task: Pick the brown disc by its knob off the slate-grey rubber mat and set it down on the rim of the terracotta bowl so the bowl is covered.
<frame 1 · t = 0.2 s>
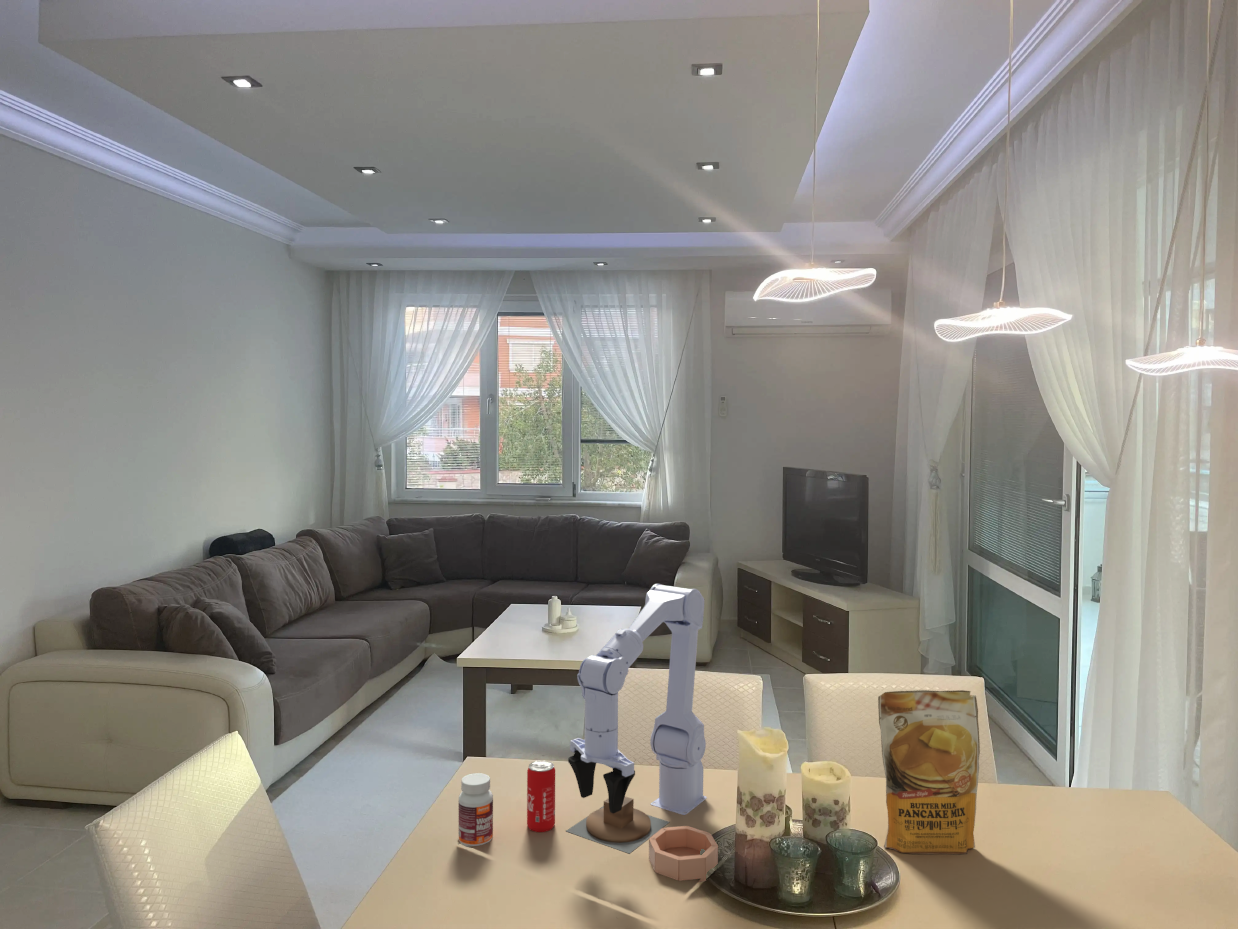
hand: (600, 803, 143), 10 cm above the table, tool pointing down, fingers open, 7 cm apart
mat: (618, 829, 154), on the table
bowl: (682, 865, 142), on the table
beverage can: (540, 829, 154), on the table
pill bottle: (475, 841, 149), on the table
pancake mix bag: (927, 846, 149), on the table
brown disc: (618, 826, 154), point 1 cm above the table, touching mat
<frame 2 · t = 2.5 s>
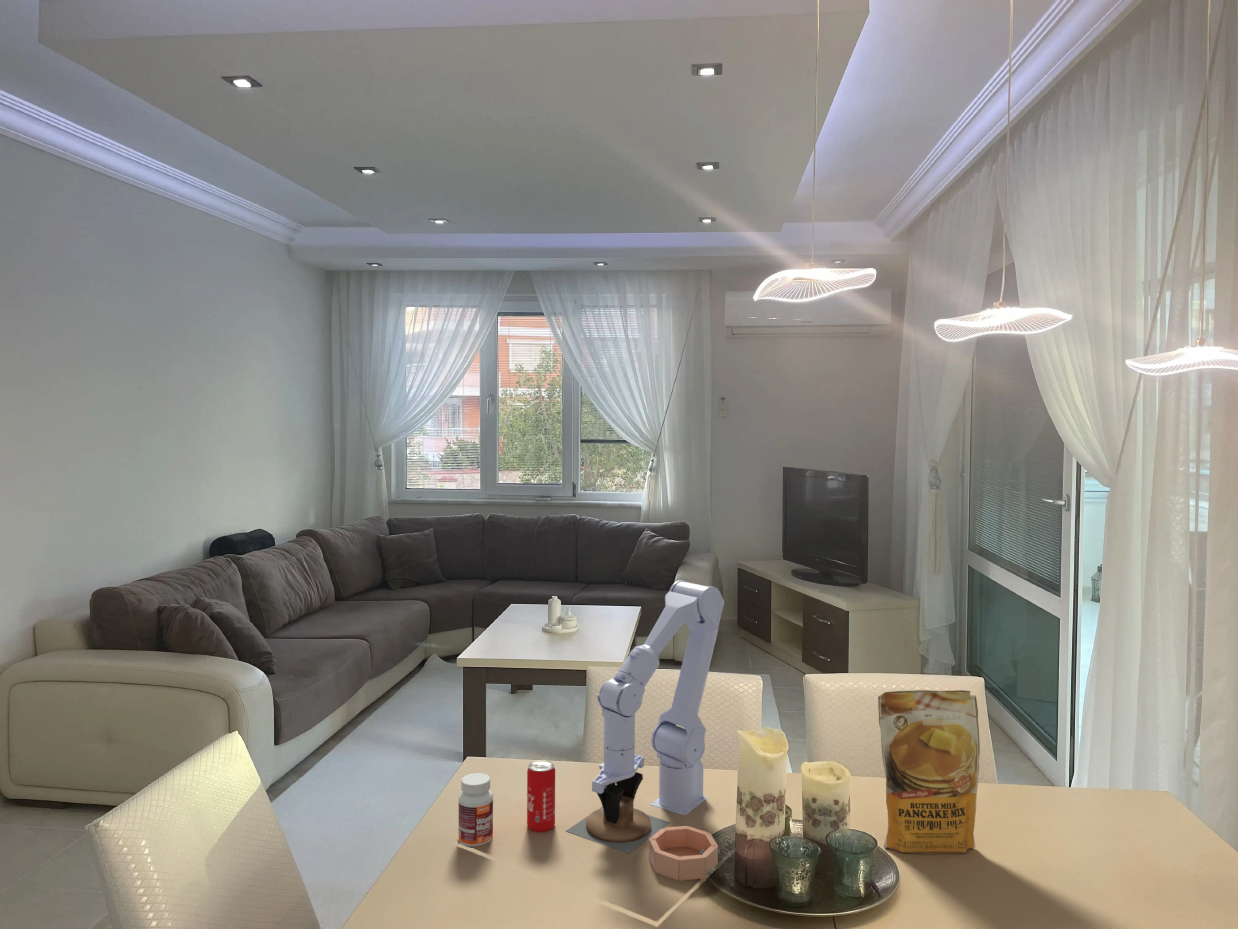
hand: (618, 817, 154), 2 cm above the table, tool pointing down, fingers closed on brown disc, 4 cm apart
brown disc: (618, 826, 154), point 1 cm above the table, touching gripper, mat
everything else where it was.
when the fingers open (7 cm above the table, at t = 5.8 s): brown disc stays where it is, resting on bowl.
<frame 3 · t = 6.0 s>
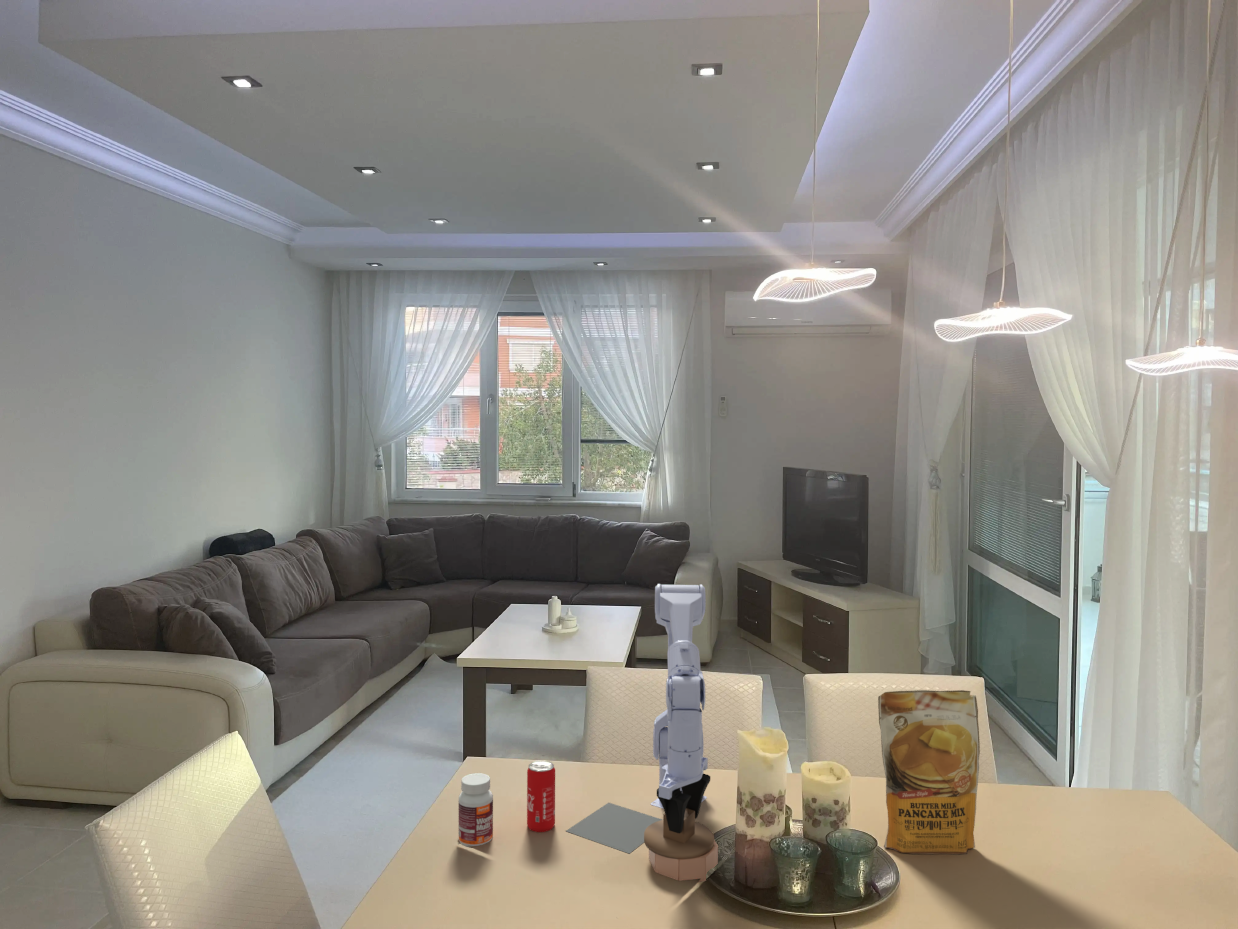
hand: (683, 824, 141), 7 cm above the table, tool pointing down, fingers open, 5 cm apart
brown disc: (678, 841, 142), point 4 cm above the table, touching bowl
everything else where it was.
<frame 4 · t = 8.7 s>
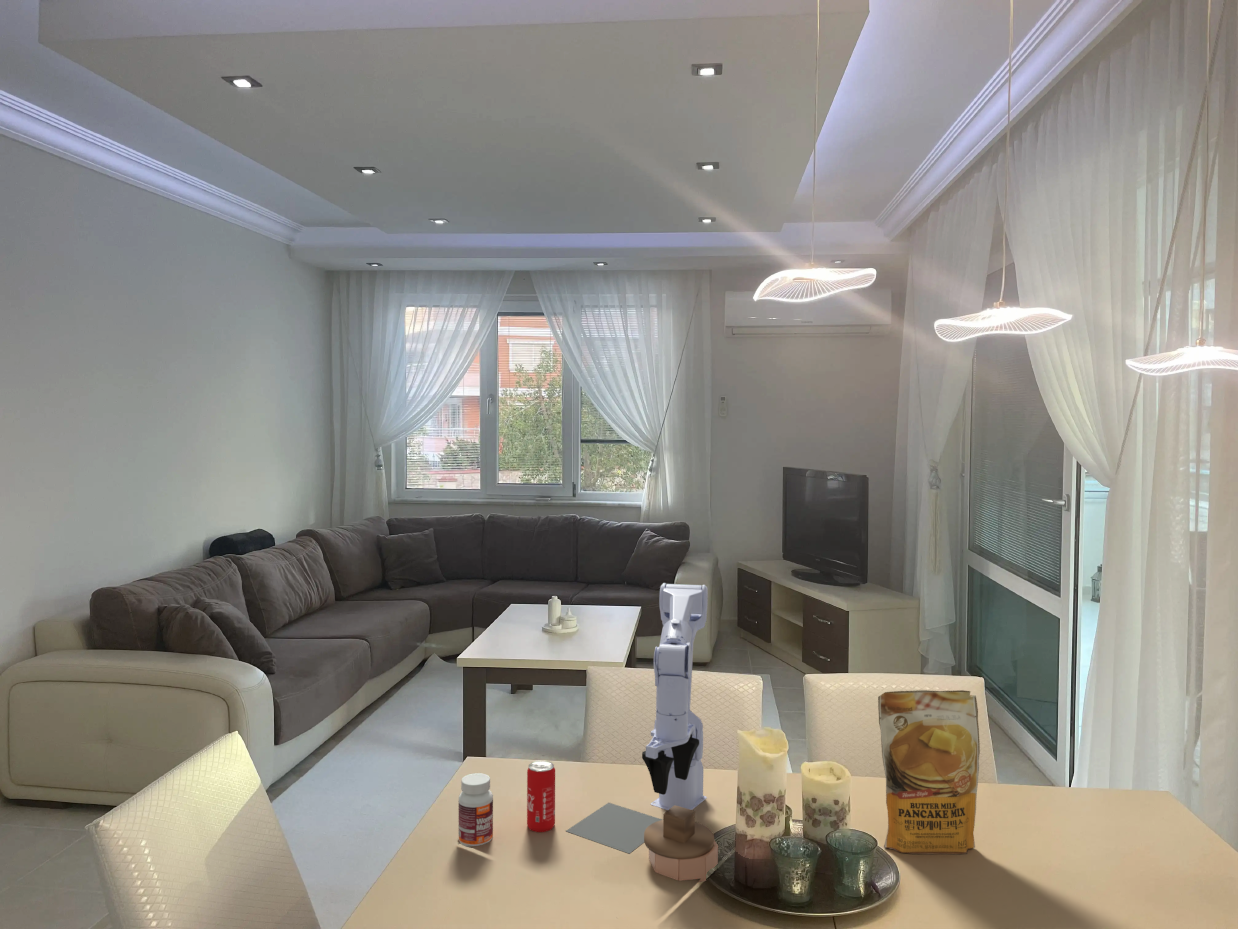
hand: (670, 785, 149), 10 cm above the table, tool pointing down, fingers open, 7 cm apart
nothing on the table moved.
at the end: brown disc 0.8 cm off-centre on the bowl, point 4.0 cm above the bowl's base; brown disc tilted 0°; the gripper is holding nothing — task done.
